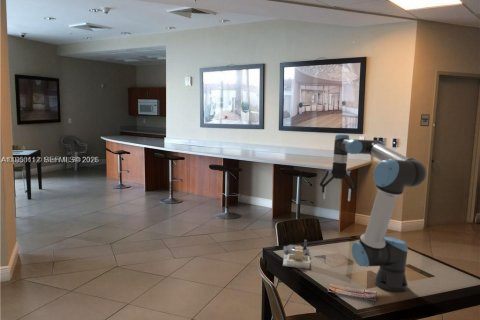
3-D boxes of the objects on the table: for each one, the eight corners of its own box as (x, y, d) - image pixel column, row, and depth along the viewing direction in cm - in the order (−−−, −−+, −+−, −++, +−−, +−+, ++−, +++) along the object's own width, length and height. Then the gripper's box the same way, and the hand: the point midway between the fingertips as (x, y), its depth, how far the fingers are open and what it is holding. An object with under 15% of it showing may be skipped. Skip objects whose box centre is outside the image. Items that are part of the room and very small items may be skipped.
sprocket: (314, 256, 219) (315, 244, 218) (290, 257, 214) (291, 245, 213) (301, 247, 234) (302, 235, 233) (278, 248, 228) (279, 237, 228)
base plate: (309, 268, 202) (309, 263, 202) (282, 265, 204) (283, 260, 204) (307, 250, 232) (308, 245, 231) (284, 247, 234) (285, 243, 233)
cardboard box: (301, 264, 205) (302, 251, 205) (294, 263, 206) (295, 250, 205) (301, 259, 212) (302, 247, 212) (294, 258, 213) (295, 246, 212)
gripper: (361, 163, 215) (358, 200, 217) (316, 159, 219) (313, 196, 221) (364, 164, 208) (360, 202, 210) (317, 161, 211) (314, 198, 213)
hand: (336, 199), depth 215 cm, fingers open, 13 cm apart
